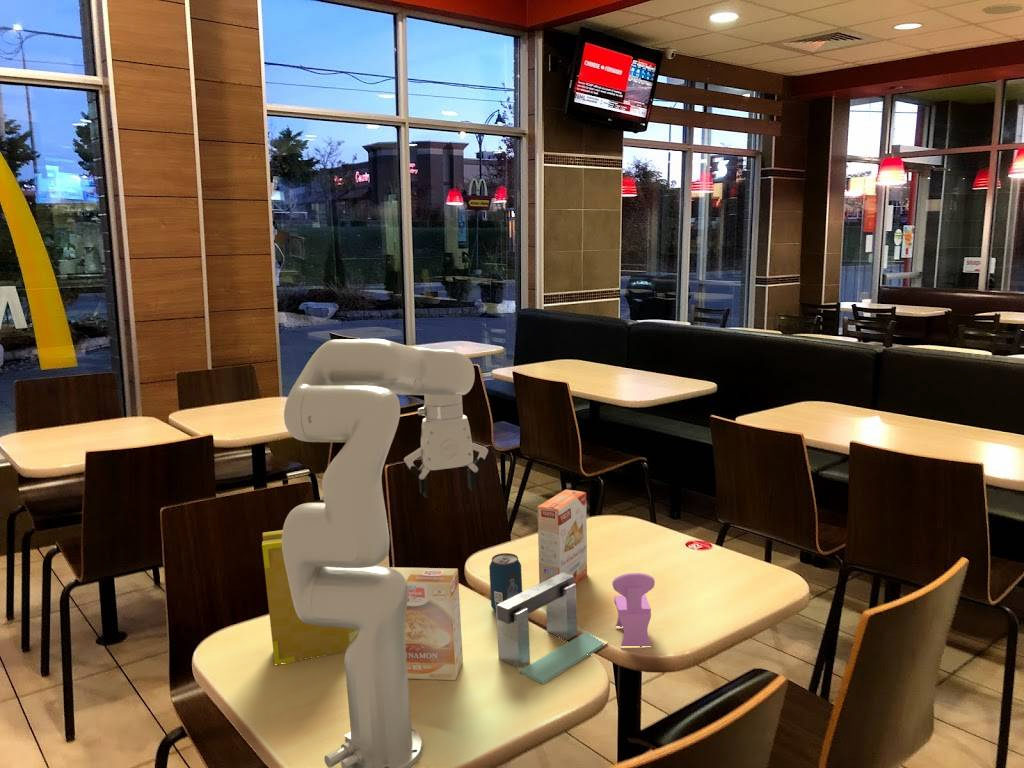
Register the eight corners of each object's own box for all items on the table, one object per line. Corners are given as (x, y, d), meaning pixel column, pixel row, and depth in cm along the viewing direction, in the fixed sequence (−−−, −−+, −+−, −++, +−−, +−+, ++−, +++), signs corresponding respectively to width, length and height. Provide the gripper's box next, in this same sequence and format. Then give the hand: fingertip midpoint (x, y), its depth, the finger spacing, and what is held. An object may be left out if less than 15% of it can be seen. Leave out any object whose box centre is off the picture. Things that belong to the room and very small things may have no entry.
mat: (542, 684, 146) (542, 681, 146) (520, 673, 150) (520, 670, 150) (607, 643, 159) (607, 641, 159) (585, 634, 163) (585, 632, 163)
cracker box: (561, 598, 180) (558, 509, 176) (538, 593, 183) (535, 505, 179) (589, 574, 192) (587, 491, 188) (567, 570, 195) (564, 487, 191)
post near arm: (519, 668, 152) (516, 614, 150) (498, 658, 156) (496, 605, 154) (530, 662, 154) (527, 608, 152) (509, 652, 158) (507, 600, 156)
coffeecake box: (378, 678, 150) (370, 581, 147) (389, 658, 157) (381, 565, 154) (456, 681, 148) (450, 583, 145) (463, 661, 155) (458, 566, 152)
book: (274, 665, 157) (261, 544, 152) (275, 649, 163) (262, 532, 158) (362, 650, 161) (352, 532, 156) (359, 635, 167) (349, 521, 163)
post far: (567, 640, 162) (566, 589, 160) (547, 631, 165) (545, 581, 163) (577, 634, 164) (575, 584, 162) (556, 626, 168) (555, 576, 166)
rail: (508, 624, 150) (507, 609, 150) (497, 619, 153) (496, 604, 152) (574, 589, 164) (573, 576, 163) (563, 585, 166) (562, 572, 165)
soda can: (502, 600, 180) (499, 549, 178) (528, 606, 177) (526, 555, 175) (485, 613, 175) (482, 561, 172) (512, 619, 171) (510, 567, 169)
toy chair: (649, 625, 166) (649, 557, 163) (657, 647, 157) (656, 576, 155) (609, 627, 166) (608, 559, 163) (615, 649, 157) (613, 577, 155)
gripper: (404, 420, 155) (410, 504, 158) (490, 410, 160) (494, 492, 163) (398, 412, 162) (403, 493, 165) (480, 403, 167) (484, 482, 170)
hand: (448, 492), depth 164 cm, fingers open, 9 cm apart
